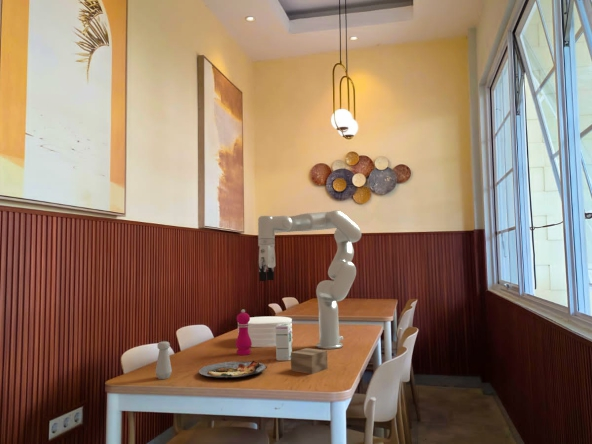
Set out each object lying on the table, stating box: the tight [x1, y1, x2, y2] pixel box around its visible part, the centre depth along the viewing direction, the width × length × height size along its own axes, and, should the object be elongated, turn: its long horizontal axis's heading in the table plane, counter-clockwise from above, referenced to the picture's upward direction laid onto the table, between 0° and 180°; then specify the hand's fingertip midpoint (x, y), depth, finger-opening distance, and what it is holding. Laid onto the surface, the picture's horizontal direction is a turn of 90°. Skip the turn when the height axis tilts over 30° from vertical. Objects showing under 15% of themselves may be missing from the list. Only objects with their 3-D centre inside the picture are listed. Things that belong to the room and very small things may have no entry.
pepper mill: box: [235, 309, 252, 356], centre depth 211 cm, size 7×7×20 cm
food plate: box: [198, 360, 268, 379], centre depth 175 cm, size 25×23×4 cm
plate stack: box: [237, 315, 293, 348], centre depth 240 cm, size 28×28×12 cm
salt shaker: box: [155, 341, 173, 380], centre depth 171 cm, size 6×6×13 cm
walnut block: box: [290, 347, 329, 375], centre depth 178 cm, size 10×10×7 cm
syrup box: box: [275, 324, 293, 362], centre depth 197 cm, size 6×6×14 cm
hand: (266, 280), depth 210 cm, fingers open, 9 cm apart
